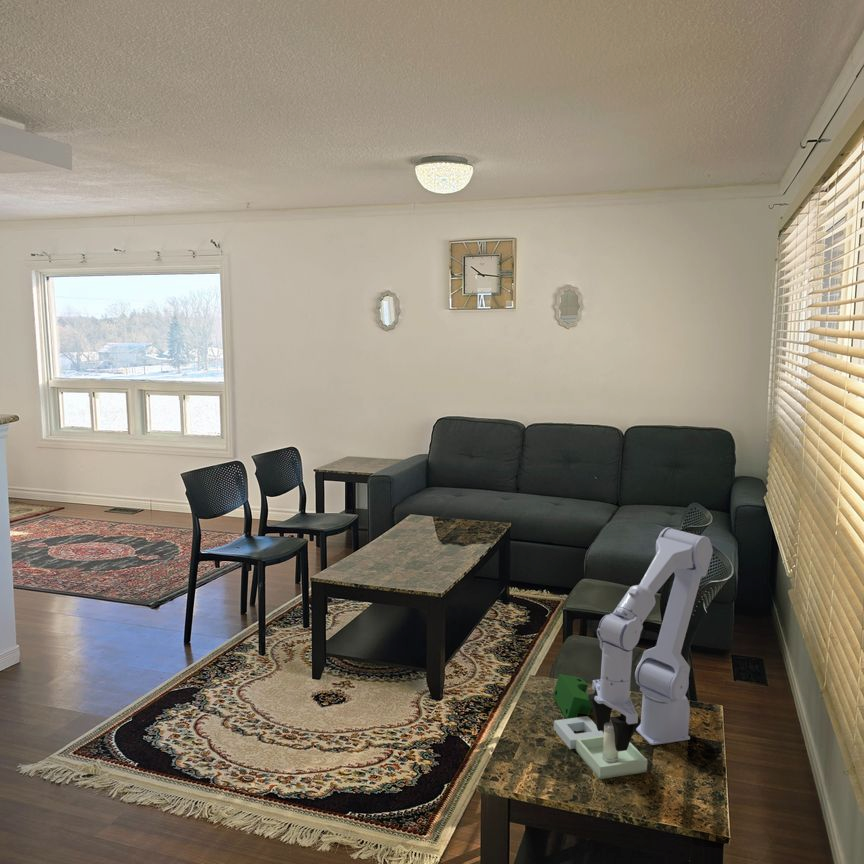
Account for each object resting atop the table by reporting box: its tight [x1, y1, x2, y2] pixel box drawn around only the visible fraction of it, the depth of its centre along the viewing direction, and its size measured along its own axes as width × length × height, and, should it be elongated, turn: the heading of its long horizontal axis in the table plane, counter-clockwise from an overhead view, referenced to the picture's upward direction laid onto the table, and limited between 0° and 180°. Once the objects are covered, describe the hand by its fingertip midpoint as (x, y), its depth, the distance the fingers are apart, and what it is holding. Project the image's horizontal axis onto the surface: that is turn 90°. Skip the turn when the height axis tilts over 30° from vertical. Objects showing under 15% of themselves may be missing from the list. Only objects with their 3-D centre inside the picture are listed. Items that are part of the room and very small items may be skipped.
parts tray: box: [575, 735, 648, 780], centre depth 155 cm, size 10×10×2 cm
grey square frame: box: [553, 715, 604, 750], centre depth 164 cm, size 8×8×2 cm
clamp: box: [553, 673, 592, 719], centre depth 175 cm, size 12×6×9 cm, turn 0°
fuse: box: [602, 721, 618, 763], centre depth 154 cm, size 3×3×7 cm
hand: (611, 739), depth 154 cm, fingers open, 7 cm apart
